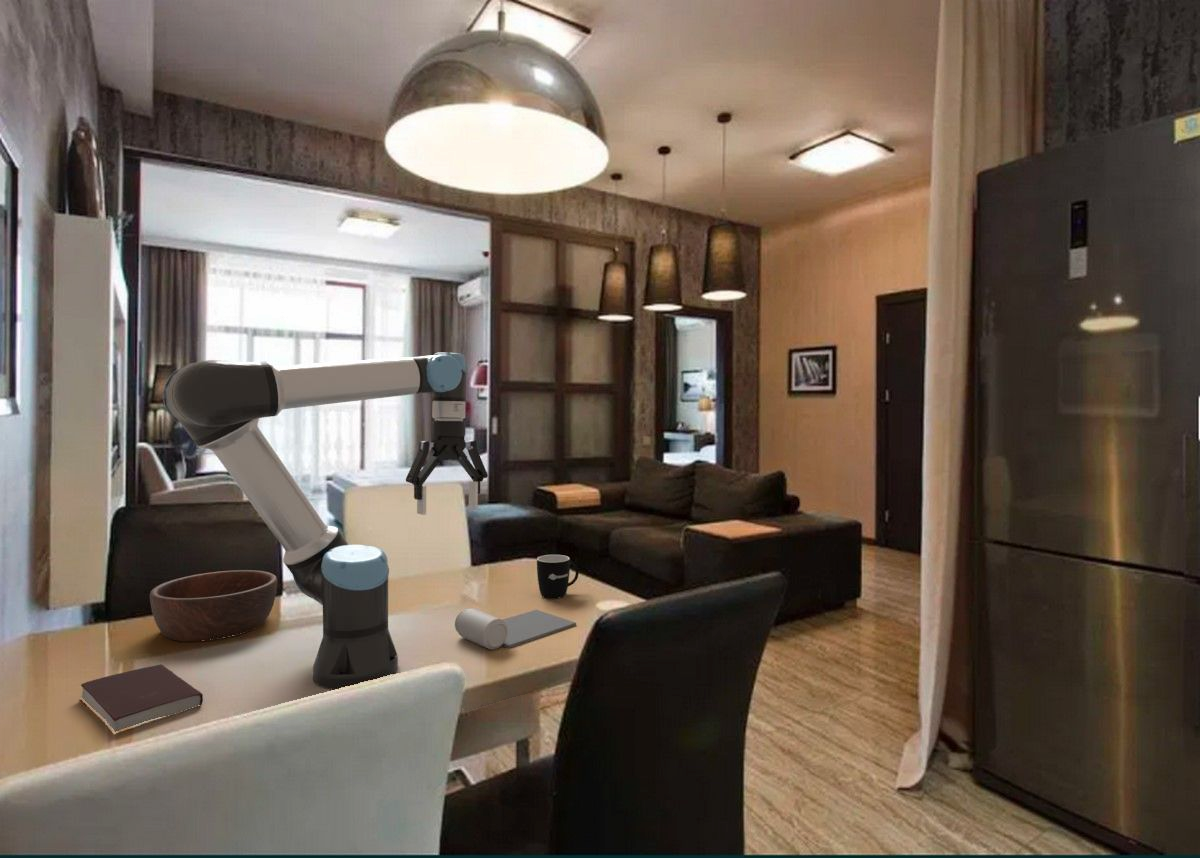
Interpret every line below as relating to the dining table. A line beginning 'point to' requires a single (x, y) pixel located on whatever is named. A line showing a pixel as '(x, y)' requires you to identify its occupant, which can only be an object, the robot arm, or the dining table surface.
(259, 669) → the dining table surface
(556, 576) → the mug
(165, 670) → the book
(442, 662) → the dining table surface
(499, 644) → the beverage can
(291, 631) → the dining table surface
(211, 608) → the wooden bowl
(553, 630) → the mat
